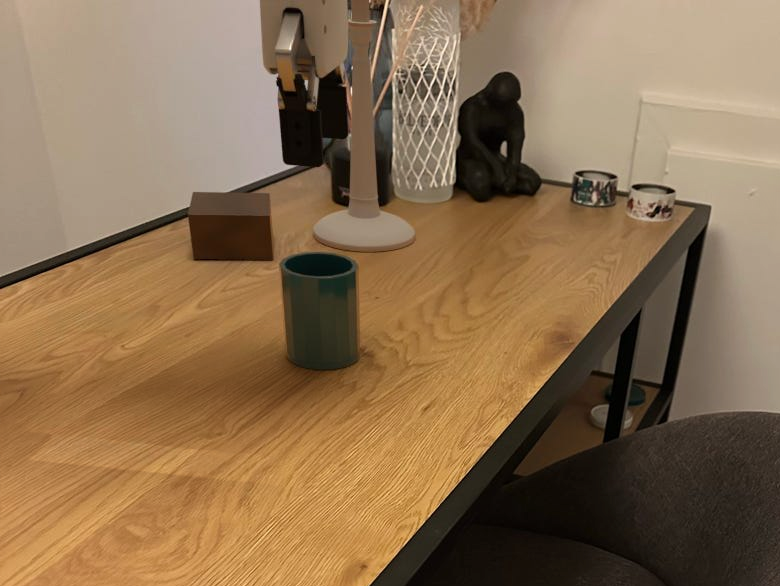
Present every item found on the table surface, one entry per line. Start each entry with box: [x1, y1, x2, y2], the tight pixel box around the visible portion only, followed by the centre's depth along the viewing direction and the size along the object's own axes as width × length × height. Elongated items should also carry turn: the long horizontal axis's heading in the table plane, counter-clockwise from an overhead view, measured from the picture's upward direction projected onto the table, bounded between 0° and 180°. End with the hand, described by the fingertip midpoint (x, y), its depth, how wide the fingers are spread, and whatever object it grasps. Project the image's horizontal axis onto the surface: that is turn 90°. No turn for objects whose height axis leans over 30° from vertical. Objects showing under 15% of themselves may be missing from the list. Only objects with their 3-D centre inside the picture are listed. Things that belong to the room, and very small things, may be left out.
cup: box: [278, 251, 361, 371], centre depth 87 cm, size 7×7×8 cm
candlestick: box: [312, 0, 416, 253], centre depth 109 cm, size 13×13×30 cm
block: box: [187, 191, 274, 261], centre depth 110 cm, size 9×9×5 cm
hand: (317, 150), depth 79 cm, fingers open, 9 cm apart
